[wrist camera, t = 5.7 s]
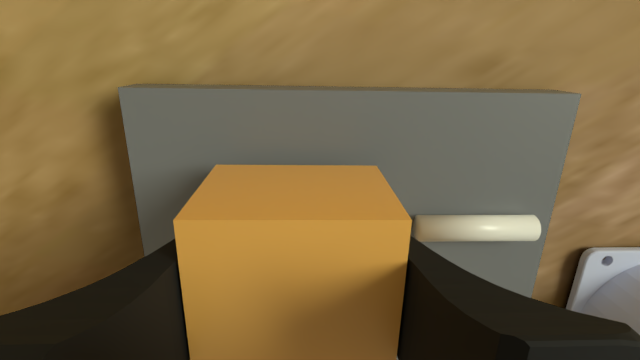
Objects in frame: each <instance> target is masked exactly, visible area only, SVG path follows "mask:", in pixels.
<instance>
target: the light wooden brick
mask: <svg viewBox="0 0 640 360" xmlns="http://www.w3.org/2000/svg"><path fill="white" fill-rule="evenodd" d="M173 224H174V232H175V240H176V248H177V256H178V265H179V273H180V281H181V289H182V297H183V305H184V313H185V321H186V330H187V338H188V346H189V354H190V360H396V358H397V349H398V340H399V332H400V323H401V314H402V305H403V296H404V287H405V278H406V269H407V261H408V252H409V243H410V234H411V225H412V219H411V218H410V216H409V215H408V213H407V212H406V210H405V209H404V207H403V205H402V204H401V202H400V201H399V199H398V198H397V196H396V195H395V193H394V192H393V190H392V189H391V187H390V185H389V184H388V182H387V181H386V179H385V178H384V176H383V175H382V173H381V172H380V170H379V169H378V167H377V166H363V165H215V167H214V168H213V169H212V171H211V172H210V173H209V174H208V176H207V177H206V178H205V180H204V181H203V182H202V184H201V185H200V186H199V187H198V189H197V190H196V191H195V193H194V194H193V195H192V196H191V198H190V199H189V200H188V202H187V203H186V204H185V206H184V207H183V208H182V209H181V211H180V212H179V213H178V215H177V216H176V217H175V219H174V220H173Z"/></svg>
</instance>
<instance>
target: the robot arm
mask: <svg viewBox="0 0 640 360" xmlns="http://www.w3.org/2000/svg"><path fill="white" fill-rule="evenodd" d="M605 257H606V258H605ZM603 258H605V259H604V260H603ZM397 357H398V360H640V247H605V248H589V249H587V250H585V251H584V252H583V253H582V255H581V257H580V261H579V264H578V268H577V271H576V275H575V278H574V282H573V285H572V289H571V292H570V296H569V299H568V303H567V306H566V309H564V308H561V307H557V306H554V305H551V304H547V303H544V302H541V301H538V300H535V299H532V298H529V297H526V296H523V295H521V294H518V293H515V292H513V291H510V290H508V289H505V288H502V287H500V286H498V285H495V284H493V283H491V282H489V281H487V280H484V279H482V278H480V277H478V276H476V275H474V274H472V273H470V272H468V271H466V270H464V269H462V268H461V267H459V266H457V265H456V264H454V263H452V262H450V261H449V260H447V259H445V258H444V257H442V256H440V255H439V254H437V253H436V252H434V251H433V250H431V249H430V248H428V247H427V246H425V245H424V244H422V243H421V242H419V241H418V240H416V239H415V238H414V237H412V236H411V235H410V243H409V252H408V261H407V269H406V278H405V287H404V296H403V305H402V314H401V323H400V332H399V340H398V349H397ZM0 360H190V354H189V346H188V338H187V330H186V321H185V313H184V305H183V297H182V289H181V281H180V273H179V265H178V256H177V248H176V240H175V239H173V240H172V241H170V242H168V243H167V244H165V245H164V246H162V247H160V248H159V249H157V250H155V251H154V252H152V253H151V254H149V255H147V256H145V257H144V258H142V259H140V260H138V261H136V262H135V263H133V264H131V265H129V266H128V267H126V268H124V269H122V270H120V271H118V272H116V273H114V274H112V275H110V276H108V277H106V278H104V279H102V280H99V281H97V282H95V283H93V284H91V285H88V286H86V287H84V288H81V289H78V290H76V291H73V292H70V293H68V294H65V295H63V296H60V297H57V298H55V299H52V300H49V301H47V302H44V303H41V304H38V305H35V306H31V307H28V308H25V309H22V310H19V311H15V312H12V313H8V314H5V315H1V316H0Z"/></svg>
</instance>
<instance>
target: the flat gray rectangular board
mask: <svg viewBox="0 0 640 360" xmlns="http://www.w3.org/2000/svg"><path fill="white" fill-rule="evenodd" d="M118 92H119V98H120V105H121V111H122V117H123V124H124V130H125V136H126V142H127V149H128V155H129V161H130V168H131V174H132V180H133V187H134V193H135V199H136V205H137V212H138V218H139V224H140V231H141V237H142V243H143V249H144V256H147V255H149V254H151V253H152V252H154V251H155V250H157V249H159V248H160V247H162V246H164V245H165V244H167V243H168V242H170V241H172V240H173V239H175V232H174V224H173V220H174V219H175V217H176V216H177V215H178V213H179V212H180V211H181V209H182V208H183V207H184V206H185V204H186V203H187V202H188V200H189V199H190V198H191V196H192V195H193V194H194V193H195V191H196V190H197V189H198V187H199V186H200V185H201V184H202V182H203V181H204V180H205V178H206V177H207V176H208V174H209V173H210V172H211V171H212V169H213V168H214V167H215V165H363V166H377V167H378V169H379V170H380V172H381V173H382V175H383V176H384V178H385V179H386V181H387V182H388V184H389V185H390V187H391V189H392V190H393V192H394V193H395V195H396V196H397V198H398V199H399V201H400V202H401V204H402V205H403V207H404V209H405V210H406V212H407V213H408V215H409V216H410V218H411V219H412V225H411V234H410V235H411V236H412V237H414V238H415V239H416V240H418V241H419V242H421V243H422V244H424V245H425V246H427V247H428V248H430V249H431V250H433V251H434V252H436V253H437V254H439V255H440V256H442V257H444V258H445V259H447V260H449V261H450V262H452V263H454V264H456V265H457V266H459V267H461V268H462V269H464V270H466V271H468V272H470V273H472V274H474V275H476V276H478V277H480V278H482V279H484V280H487V281H489V282H491V283H493V284H495V285H498V286H500V287H502V288H505V289H508V290H510V291H513V292H515V293H518V294H521V295H523V296H526V297H529V298H531V296H532V292H533V288H534V284H535V280H536V275H537V271H538V267H539V263H540V259H541V255H542V251H543V247H544V243H545V239H546V235H547V231H548V227H549V223H550V219H551V215H552V211H553V207H554V202H555V198H556V194H557V190H558V186H559V182H560V178H561V174H562V170H563V166H564V162H565V158H566V154H567V150H568V146H569V142H570V138H571V134H572V129H573V125H574V121H575V117H576V113H577V109H578V105H579V101H580V97H581V94H578V93H572V92H565V91H558V90H532V89H463V88H393V87H324V86H255V85H186V84H133V85H128V86H123V87H118ZM396 360H398V357H397V358H396Z"/></svg>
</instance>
